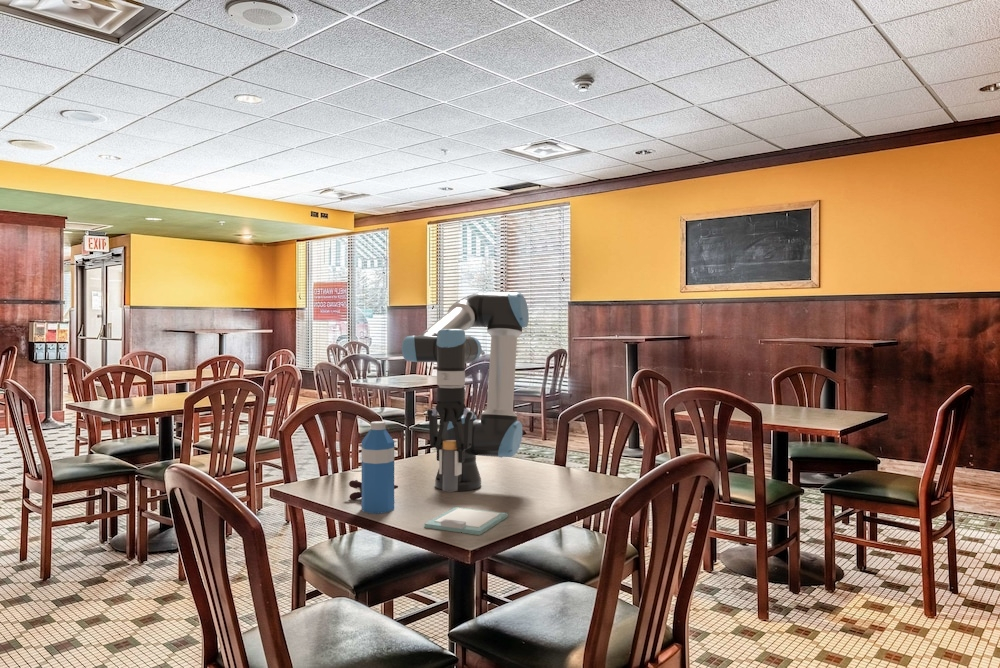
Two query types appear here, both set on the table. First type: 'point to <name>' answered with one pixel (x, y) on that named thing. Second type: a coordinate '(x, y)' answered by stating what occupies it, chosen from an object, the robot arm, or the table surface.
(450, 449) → the marker
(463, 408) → the robot arm
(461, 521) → the clipboard
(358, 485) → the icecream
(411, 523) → the table surface
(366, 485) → the water bottle
